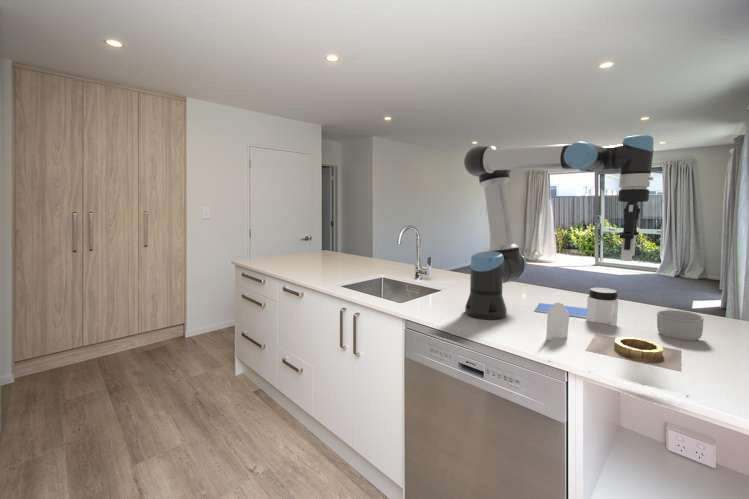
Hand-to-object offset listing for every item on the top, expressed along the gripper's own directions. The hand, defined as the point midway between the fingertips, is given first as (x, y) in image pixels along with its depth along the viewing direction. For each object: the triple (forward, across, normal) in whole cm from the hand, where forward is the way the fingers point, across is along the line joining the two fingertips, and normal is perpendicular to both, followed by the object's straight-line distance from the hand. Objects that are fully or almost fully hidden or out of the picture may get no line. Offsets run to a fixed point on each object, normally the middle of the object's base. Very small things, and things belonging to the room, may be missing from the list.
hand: (627, 258), depth 111 cm
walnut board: (+24, -18, -4) cm, 31 cm away
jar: (+25, +7, +6) cm, 26 cm away
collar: (+23, -18, -5) cm, 30 cm away
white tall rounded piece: (+25, -18, +15) cm, 34 cm away
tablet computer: (+26, +16, +20) cm, 36 cm away
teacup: (+24, +5, -14) cm, 29 cm away
